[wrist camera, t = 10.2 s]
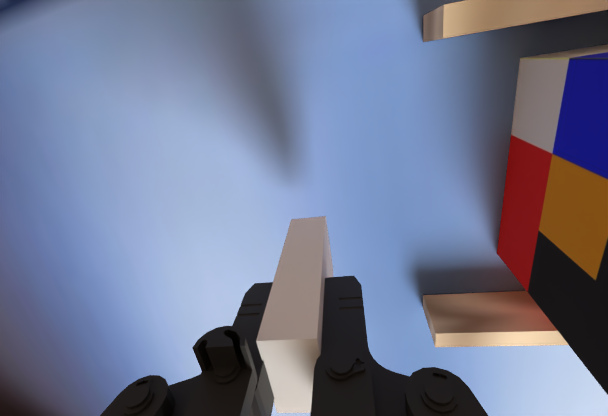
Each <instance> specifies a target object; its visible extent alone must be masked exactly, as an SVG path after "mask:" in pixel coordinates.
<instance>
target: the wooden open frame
mask: <svg viewBox="0 0 608 416" xmlns="http://www.w3.org/2000/svg"><path fill="white" fill-rule="evenodd" d="M605 10H608V0H465V1H460V2H455V3H450V4H444V5H442V6H440V7H438V8H437V9H435V10H433V11H431V12H429V13H427V14H425V15H423V42H427V41H432V40H438V39H444V38H450V37H455V36H461V35H467V34H473V33H478V32H484V31H490V30H496V29H501V28H507V27H513V26H519V25H524V24H530V23H536V22H542V21H547V20H553V19H559V18H565V17H570V16H576V15H582V14H588V13H593V12H599V11H605ZM423 309H424V313H425V316H426V319H427V322H428V325H429V328H430V332H431V335H432V338H433V341H434V344H435V347H470V346H534V345H569V344H568V343H567V342H566V341H565V339H564V338H563V337H562V336H561V334H560V333H559V332H558V330H557V329H556V328H555V327H554V325H553V324H552V323H551V322H550V320H549V319H548V318H547V316H546V315H545V314H544V313H543V311H542V310H541V309H540V307H539V306H538V305H537V304H536V302H535V301H534V300H533V299H532V297H531V296H530V295H529V293H528V292H527V291H510V292H487V293H463V294H440V295H423Z"/></svg>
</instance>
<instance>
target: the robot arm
mask: <svg viewBox="0 0 608 416" xmlns="http://www.w3.org/2000/svg"><path fill="white" fill-rule="evenodd" d="M193 350H194V353H195V355H196V358H197V360H198V363H199V365H200V367H201V370H202V373H201V374H200V375H198V376H196V377H193V378H191V379H188V380H185V381H182V382H178V383H175V384H172V385H169V386H168V384H167V382H166V380H165V379H164V378H162V377H161V376H156V375H150V376H147V377H143V378H140V379H138V380H137V381H135V382H133V383H132V384H130V385H128V386H127V387H126V388H125V389H124V390H123V391H122V392H121V393H120V394H119V395H118V396H117V397H116V398H115V399H114V401H113V402H112V403H111V404H110V405H109V406H108V407H107V408H106V410H105V411H104V412H103V413H102V414H101V415H100V416H271V413H272V407H273V402H274V404H275V407H276V410H277V413H311V416H488V415H487V413H486V412H485V410H484V409H483V407H482V406H481V404H480V403H479V402H478V400H477V399H476V397H475V396H474V394H473V393H472V391H471V390H470V388H469V387H468V386H467V385H466V384H465V383H464V382H463V381H462V380H461V379H460V378H459V377H458V376H456V375H454V374H453V373H451V372H449V371H447V370H443V369H440V368H436V367H431V368H422V369H420V370H418V371H415V372H413V373H412V375H411V376H410V377H409V376H406V375H402V374H398V373H395V372H392V371H390V370H387V369H385V368H384V367H382V366H381V365H379V364H378V363H377V362H376V361H375V360H374V359H373V357H372V355H371V354H370V352H369V348H368V343H367V334H366V325H365V316H364V307H363V298H362V289H361V284H360V283H359V282H358V281H357V279H356V278H355V277H354V276H343V277H333V265H332V258H331V251H330V244H329V236H328V229H327V222H326V216H322V217H312V218H301V219H291V222H290V226H289V229H288V233H287V236H286V239H285V243H284V246H283V250H282V253H281V257H280V260H279V264H278V267H277V271H276V274H275V277H274V281H273V282H270V283H255V284H254V285H253V286H252V287H251V288H250V289H249V290H248V291H247V292H246V293H245V296H244V298H243V301H242V303H241V307H240V308H239V311H238V313H237V316H236V318H235V321H234V323H233V326H223V327H218V328H215V329H213V330H211V331H209V332H207V333H206V334H205V335H203V336H202V337H201V338H200V339H198V341H197V342H196V344H195V345H194V346H193Z"/></svg>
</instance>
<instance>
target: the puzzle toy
mask: <svg viewBox="0 0 608 416" xmlns="http://www.w3.org/2000/svg"><path fill="white" fill-rule="evenodd" d="M497 254H498V255H499V256H500V258H501V259H502V260H503V261H504V263H505V264H506V265H507V267H508V268H509V269H510V270H511V272H512V273H513V274H514V276H515V277H516V278H517V279H518V281H519V282H520V283H521V284H522V286H523V287H524V288H525V290H526V291H527V292H528V293H529V295H530V296H531V297H532V299H533V300H534V301H535V302H536V304H537V305H538V306H539V307H540V309H541V310H542V311H543V313H544V314H545V315H546V316H547V318H548V319H549V320H550V322H551V323H552V324H553V325H554V327H555V328H556V329H557V330H558V332H559V333H560V334H561V336H562V337H563V338H564V339H565V341H566V342H567V343H568V344H569V346H570V347H571V348H572V350H573V351H574V352H575V353H576V355H577V356H578V357H579V359H580V360H581V361H582V362H583V364H584V365H585V366H586V367H587V369H588V370H589V371H590V373H591V374H592V375H593V376H594V378H595V379H596V380H597V382H598V383H599V384H600V385H601V387H602V388H603V389H604V390H605V392H606V393H607V394H608V44H606V45H599V46H593V47H587V48H580V49H574V50H567V51H561V52H555V53H548V54H542V55H536V56H529V57H523V58H520V64H519V72H518V81H517V89H516V98H515V106H514V114H513V123H512V131H511V140H510V148H509V156H508V165H507V173H506V182H505V190H504V198H503V207H502V215H501V224H500V232H499V240H498V249H497Z"/></svg>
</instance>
